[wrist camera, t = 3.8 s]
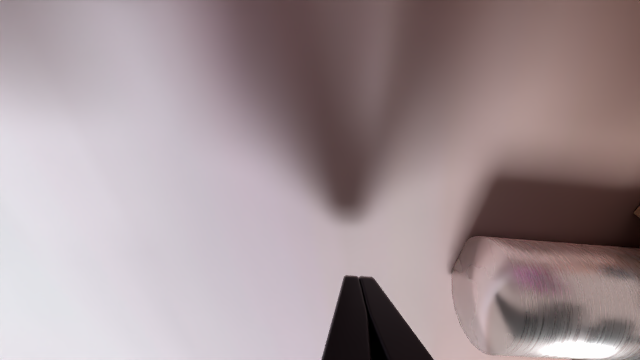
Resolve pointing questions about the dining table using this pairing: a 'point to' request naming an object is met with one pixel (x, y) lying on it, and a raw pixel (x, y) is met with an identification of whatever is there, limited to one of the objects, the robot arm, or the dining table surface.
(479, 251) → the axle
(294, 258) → the dining table surface
